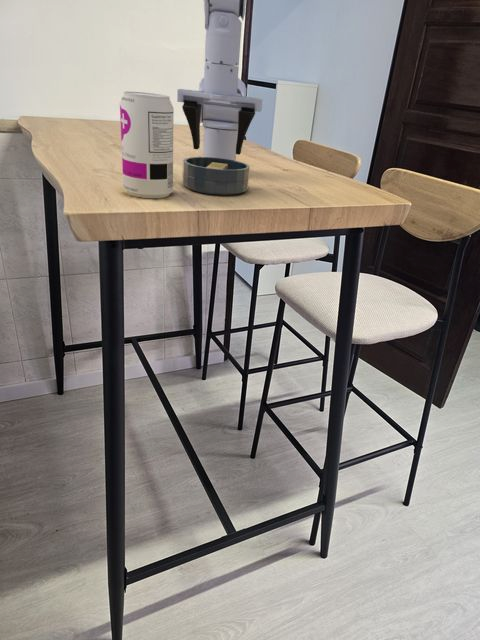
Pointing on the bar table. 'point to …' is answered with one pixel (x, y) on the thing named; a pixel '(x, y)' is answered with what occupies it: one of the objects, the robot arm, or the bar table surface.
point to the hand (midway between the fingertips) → (217, 151)
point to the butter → (218, 166)
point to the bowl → (215, 176)
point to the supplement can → (147, 144)
